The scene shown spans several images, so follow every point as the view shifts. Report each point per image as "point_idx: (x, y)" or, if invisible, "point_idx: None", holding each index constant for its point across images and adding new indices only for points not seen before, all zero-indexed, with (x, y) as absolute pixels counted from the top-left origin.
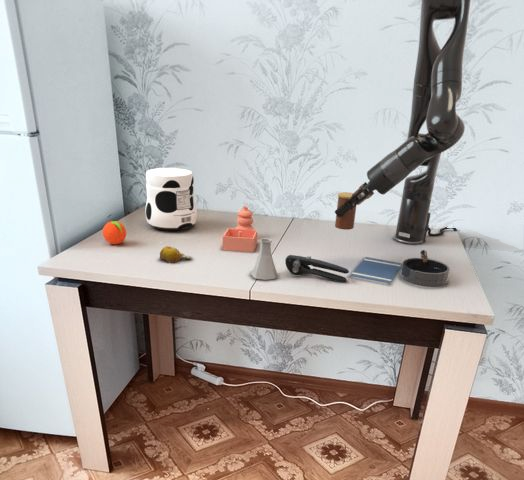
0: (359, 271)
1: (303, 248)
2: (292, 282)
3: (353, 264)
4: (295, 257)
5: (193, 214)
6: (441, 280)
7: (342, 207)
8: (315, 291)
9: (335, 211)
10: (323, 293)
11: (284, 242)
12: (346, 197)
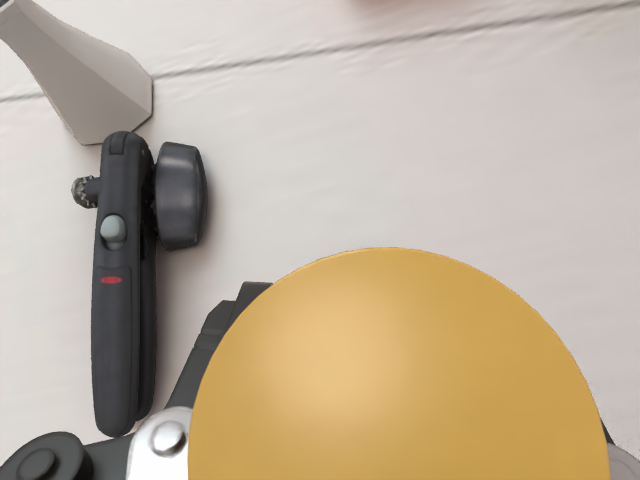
0: None
1: (498, 139)
2: (76, 211)
3: None
4: (101, 170)
5: None
6: None
7: (181, 377)
8: (14, 314)
9: (243, 288)
10: (3, 348)
11: (539, 40)
12: (192, 445)
